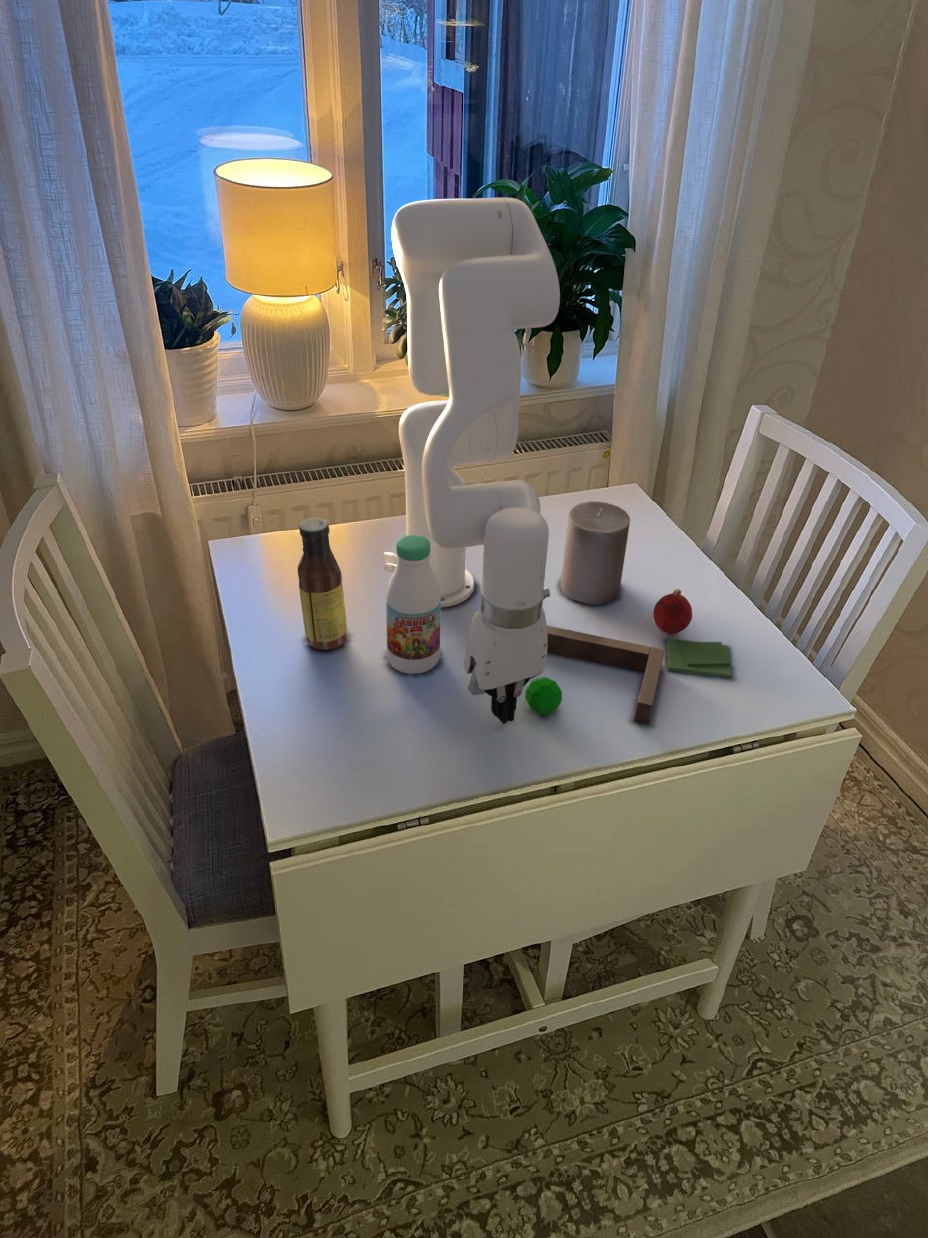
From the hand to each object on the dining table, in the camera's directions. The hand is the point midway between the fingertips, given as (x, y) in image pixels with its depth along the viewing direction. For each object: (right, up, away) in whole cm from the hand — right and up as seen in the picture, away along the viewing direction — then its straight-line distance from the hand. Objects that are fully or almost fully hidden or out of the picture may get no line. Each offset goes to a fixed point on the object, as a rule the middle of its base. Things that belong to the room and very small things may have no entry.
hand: (503, 716), depth 126 cm
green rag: (+30, +7, +13) cm, 33 cm away
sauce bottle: (-26, +10, +14) cm, 31 cm away
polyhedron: (+6, +1, +3) cm, 6 cm away
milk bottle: (-13, +7, +11) cm, 18 cm away
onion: (+26, +11, +18) cm, 34 cm away
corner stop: (+13, +4, +8) cm, 16 cm away
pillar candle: (+15, +18, +28) cm, 36 cm away
